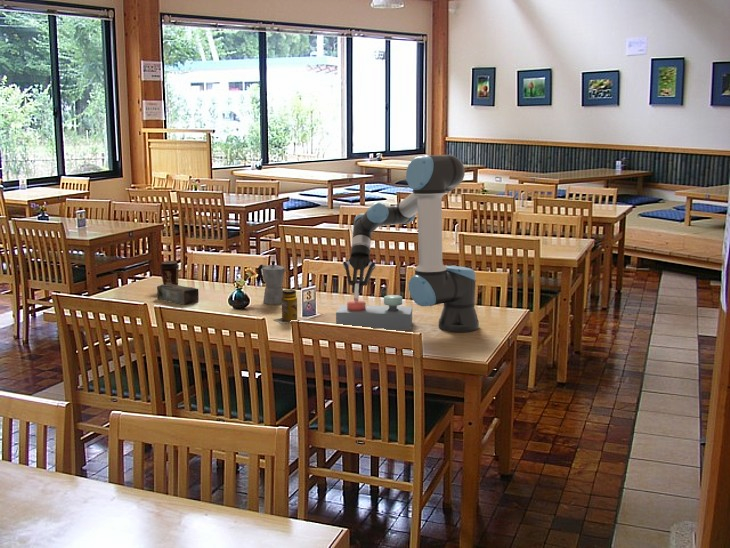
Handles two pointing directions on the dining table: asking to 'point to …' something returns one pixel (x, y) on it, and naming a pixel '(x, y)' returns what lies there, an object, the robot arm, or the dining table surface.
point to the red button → (356, 306)
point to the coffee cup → (169, 272)
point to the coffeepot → (272, 282)
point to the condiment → (288, 306)
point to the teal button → (393, 301)
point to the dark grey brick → (178, 294)
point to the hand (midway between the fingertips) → (356, 299)
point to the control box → (376, 317)
